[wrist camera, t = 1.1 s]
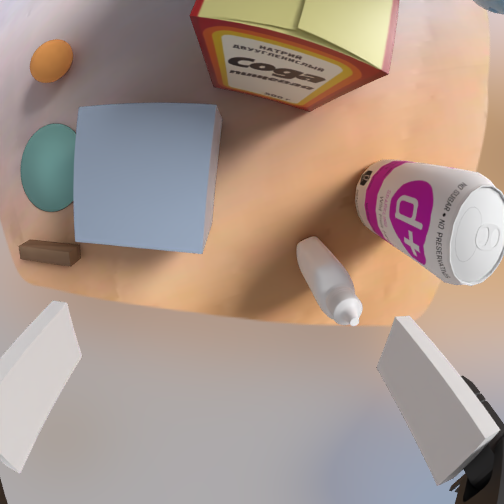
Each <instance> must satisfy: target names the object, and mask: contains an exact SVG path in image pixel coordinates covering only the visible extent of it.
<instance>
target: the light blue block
mask: <svg viewBox="0 0 504 504" xmlns="http://www.w3.org/2000/svg"><path fill="white" fill-rule="evenodd" d="M222 121H223V120H222V117H221V115H220V112H219V110H218V107H217V105H211V104H193V103H126V104H108V105H96V106H85V107H79V111H78V119H77V128H76V140H75V154H74V183H73V201H74V229H75V242H84V243H94V244H104V245H114V246H125V247H135V248H145V249H156V250H166V251H177V252H187V253H198V254H202V253H203V250H204V247H205V244H206V241H207V238H208V234H209V231H210V228H211V225H212V217H213V206H214V195H215V184H216V174H217V165H218V155H219V146H220V137H221V129H222Z"/></svg>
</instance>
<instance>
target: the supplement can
mask: <svg viewBox="0 0 504 504" xmlns="http://www.w3.org/2000/svg"><path fill="white" fill-rule="evenodd" d="M355 204H356V209H357V214H358V216H359V217H360V219H361V221H362V223H363V224H364V225H365V226H366V227H367V228H368V229H370V230H371V231H372V232H373V233H375V234H376V235H378V236H380V237H381V238H383V239H384V240H386V241H387V242H389V243H390V244H392V245H393V246H395V247H396V248H397V249H399V250H400V251H402V252H403V253H405V254H406V255H408V256H409V257H411V258H412V259H413V260H415V261H416V262H418V263H419V264H420V265H422V266H423V267H425V268H426V269H427V270H429V271H430V272H431V273H433V274H434V275H436V276H437V277H438V278H440V279H441V280H442V281H444V282H446V283H450V284H454V285H462V284H465V285H470V286H472V285H475V284H479V283H482V282H483V281H484V280H485V279H487V278H488V277H489V276H490V275H491V274H492V273H493V272H494V270H495V269H496V268H497V266H498V265H499V263H500V261H501V259H502V257H503V255H504V195H503V193H502V192H501V191H500V190H499V189H497V188H496V187H495V186H494V185H493V183H492V182H491V181H490V180H489V179H488V178H486V177H484V176H483V175H481V174H480V173H478V172H473V171H468V170H462V169H457V168H451V167H445V166H439V165H432V164H425V163H418V162H410V161H402V160H380V161H378V162H376V163H374V164H372V165H370V166H369V167H368V168H367V169H366V171H365V172H364V173H363V174H362V175H361V178H360V180H359V182H358V184H357V187H356V195H355Z"/></svg>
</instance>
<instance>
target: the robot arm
mask: <svg viewBox="0 0 504 504" xmlns="http://www.w3.org/2000/svg"><path fill="white" fill-rule="evenodd" d="M473 1H474V2H475V3H476V4H478V5H479V6H481V7H482V8H484V9H486V10H488V11H491V12H494V13H499V14H504V0H473ZM81 357H82V354H81V351H80V348H79V344H78V341H77V338H76V335H75V331H74V327H73V324H72V320H71V316H70V312H69V308H68V305H67V303H65V302H59V301H52V302H51V303H50V304H49V305H48V306H47V307H46V308H45V309H44V310H43V311H42V312H41V313H40V314H39V315H38V316H37V318H35V320H34V321H33V322H32V323H31V324H30V325H29V326H28V327H27V328H26V329H25V330H24V331H23V333H22V334H21V335H20V336H19V337H18V338H17V339H16V340H15V341H14V343H13V344H12V345H11V346H10V347H9V348H8V349H7V351H6V352H5V353H4V354H3V355H2V357H1V358H0V461H1V462H2V463H3V464H4V465H6V466H8V467H9V468H11V469H12V470H14V471H16V472H18V473H21V471H22V469H23V466H24V464H25V462H26V459H27V457H28V455H29V453H30V451H31V449H32V447H33V445H34V443H35V441H36V438H37V436H38V434H39V432H40V430H41V428H42V427H43V425H44V423H45V421H46V419H47V417H48V415H49V413H50V411H51V409H52V407H53V405H54V404H55V402H56V400H57V398H58V396H59V395H60V393H61V391H62V389H63V388H64V386H65V384H66V382H67V381H68V379H69V377H70V376H71V374H72V372H73V370H74V369H75V367H76V366H77V364H78V362H79V361H80V359H81ZM376 368H377V370H378V371H379V373H380V375H381V377H382V379H383V380H384V382H385V384H386V386H387V388H388V389H389V391H390V393H391V395H392V397H393V399H394V401H395V402H396V404H397V406H398V408H399V410H400V411H401V414H402V415H403V417H404V419H405V421H406V423H407V425H408V427H409V429H410V431H411V433H412V435H413V437H414V439H415V441H416V443H417V445H418V447H419V448H420V450H421V453H422V455H423V457H424V459H425V461H426V463H427V465H428V467H429V469H430V471H431V473H432V475H433V478H434V480H435V482H436V484H437V486H438V485H440V484H443V483H445V482H447V481H449V480H451V479H453V478H454V477H455V476H456V475H457V474H458V473H460V472H461V471H462V470H463V469H464V471H465V474H464V475H463V476H462V477H461V478H460V479H458V480H457V481H456V482H455V483H454V484H453V485H452V486H451V488H450V490H449V491H452V490H453V489H455V488H456V487H457V486H458V485H459V484H460V486H459V487H458V488H457V489H456V491H455V492H458V494H457V498H456V502H455V504H504V424H503V422H502V421H501V419H500V418H499V417H498V415H497V414H496V412H495V411H494V410H493V409H492V407H491V406H490V404H489V403H488V402H487V401H485V398H484V396H483V395H482V394H480V391H479V390H478V389H477V387H476V386H475V385H474V384H473V383H472V382H471V381H470V380H468V379H467V378H465V377H464V376H460V375H459V373H458V372H457V371H456V370H455V369H454V367H453V366H452V365H451V364H450V362H449V361H448V360H447V359H446V357H445V356H444V355H443V354H442V353H441V351H440V350H439V349H438V348H437V347H436V346H435V344H434V343H433V342H432V341H431V340H430V339H429V337H428V336H427V335H426V334H425V333H424V332H423V331H422V329H421V328H420V327H419V326H418V325H417V324H416V323H415V321H414V320H413V319H412V318H411V317H410V316H400V317H395V319H394V322H393V325H392V328H391V331H390V334H389V336H388V339H387V342H386V344H385V347H384V350H383V352H382V355H381V357H380V360H379V362H378V365H377V367H376ZM0 504H7V500H6V497H5V494H4V490H3V487H2V483H1V479H0Z"/></svg>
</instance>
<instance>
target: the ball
mask: <svg viewBox="0 0 504 504" xmlns="http://www.w3.org/2000/svg"><path fill="white" fill-rule="evenodd" d="M72 60H73V52H72V49H71V47H70V45H69V44H68V43H67V42H65V41H63V40H58V39H57V40H50V41H48V42H46V43H44V44H42V45H41V46H40V47H39V48H38V49H37V50H36V51H35V53H34V54H33V56H32V58H31V62H30V71H31V74H32V76H33V77H34V78H35V79H36V80H37V81H39V82H42V83H50V82H54V81H56V80H58V79H60V78H61V77H62V76H63V75H64V74H65V73H66V72H67V71H68V70H69V68H70V66H71V64H72Z"/></svg>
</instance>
